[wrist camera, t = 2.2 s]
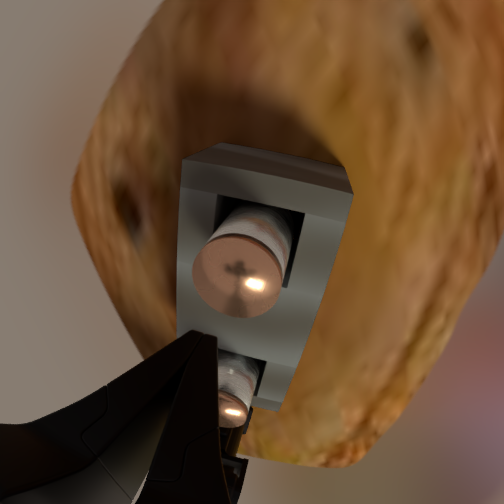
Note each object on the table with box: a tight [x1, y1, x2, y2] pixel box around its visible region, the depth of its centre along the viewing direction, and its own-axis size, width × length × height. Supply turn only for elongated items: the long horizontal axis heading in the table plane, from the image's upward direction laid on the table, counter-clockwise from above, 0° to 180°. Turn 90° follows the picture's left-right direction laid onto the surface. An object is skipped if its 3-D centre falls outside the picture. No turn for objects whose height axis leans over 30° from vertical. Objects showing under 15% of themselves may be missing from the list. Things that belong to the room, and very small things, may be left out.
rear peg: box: [218, 348, 263, 428], centre depth 19 cm, size 4×4×6 cm
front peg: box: [192, 200, 295, 318], centre depth 14 cm, size 4×4×6 cm
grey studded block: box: [176, 142, 354, 412], centre depth 20 cm, size 17×8×6 cm, turn 172°
